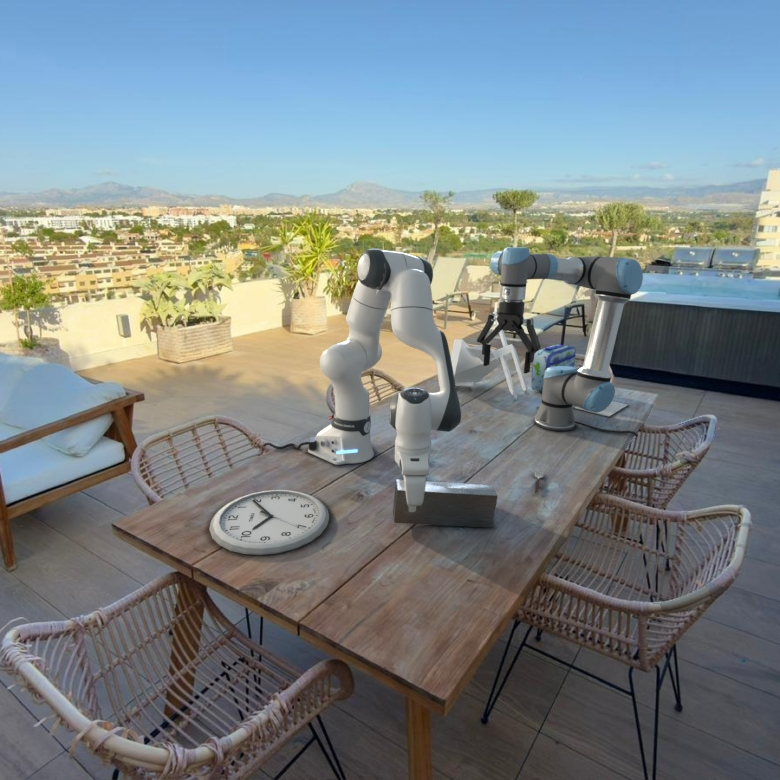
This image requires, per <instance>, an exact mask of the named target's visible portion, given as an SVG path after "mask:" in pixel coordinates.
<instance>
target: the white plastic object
mask: <svg viewBox="0 0 780 780" xmlns="http://www.w3.org/2000/svg"><path fill="white" fill-rule="evenodd" d="M492 314H495V315H497V316H498V314H499V313H498V312H497V311H496V310H495V311H492ZM495 324H496V325H495V326H496V327H497V326H498V325H499V323H498V321H497V319H496V321H495ZM498 335H499V338H500V342H501V345H502V347H500V348H498V349H496V350H495V349H493V348H492V347H491V349H490V362H489V365H487V366H483V364H484V355H482V344H479V345H473V346H469V345H468V343H466V342H465V340H464V339H463V338H460V339H458V338H454V340H453V344H452V349H451V353H450V356H451V362H452V368H453V373H454V379H455V385H458V384H467V383H468V384H469V383H473V384H477V383H480V382H482V381H484V378H485V377H486V376H487V375H489V374H490V373H492V372H494V371H495V370H496V369H497V368H499V367H500V366H502V370H503V373H504V376H505V380H506V383H507V386H508V390H509V393H510V394H511V395H512V397H513V398H514V399H515V400H517V392H516V391H517V390H516V388H515V385H514V381H513V378H512V375H511V371H510V369H509V365H508V361H510V360H513V363H514V366H515V369H516V372H517V376H518V380H519V382H520V385H521V389H522V391H523V393H524V395H525V396H526V397H528V396H531V395H530V390H529V388H528V387H529V386H528V384H527V381H526V378H525V375H524V370H523V369H522V368H523V367H522V366H521V362H520V359H519V355H518V352H517V349H516V347H515V346H514V345H513V343H511V344H508V341H507V337H506V334H505V331H503V330H501V331H500V332H499V333H498Z"/></svg>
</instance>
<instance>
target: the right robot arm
mask: <svg viewBox="0 0 780 780" xmlns="http://www.w3.org/2000/svg"><path fill="white" fill-rule="evenodd" d="M489 267H490V270H491V271H492V273H493V274H495V275H499V276H500V287H499V299H500V300H499V302H498V309H497V314H498V316H497V315H495V314H493V313H490V314H488V316H487V320H486V323H485V324H484V326H483V328H482V330H481V332H480V334H479V335H478V337H477V339H476V342H477V343H480V345H482V355H484V364H483V366H487V365H489V362H490V349H491V348H492V344H490V343H491V341H492V340H493V339H495V337H497V335H499V332H500V331H501V330H503V331H504V332H510V333H515V334H516V335H517V336H518V337H519V339H520V340H521V342H522V344H523V345H524V347H525V348H526V350H527V351H525V354H524V355H525V356H524V367H523V374H528V373H530V372H531V364H533V361H534V356H535V354H536V352H537V351H539V350H541V349H542V346H541V343H540V339H539V337H538V334H537V331H536V329H535V326H534V318H533V317H531V318H524V314H525V300H526V292H527V282H528V281H529V280H553V281H563V282H564V283H565V284H567V285H575V286H578V287H582V288H585V289H589V290H595V292H594V296H595V298H596V300H597V303H596V308H595V311H594V316H593V322H592V324H591V325H592V326H591V330H590V334H589V338H588V343H587V346H586V351H585V354H584V355H585V356H584V360H583V364H582V366H581V367H580V368H578V369H577V367H575V366H574V367H570V366H555V367H549V368H547V369H546V370H545V375H544V378H543V379H544V380H543V391H541V402H540V405H538V406H536V413H535V416H534V424H535V425H536V426H537V427H539V428H542V429H544V430H549V431H556V432H567V431H572V430H574V429H575V428H576V425H579V426H582V427H586V428H588V429H592V430H596V431H599V432H605V433H612V434H613V433H614V434H632V435H634V436H635V437H639V435H638V434H637V432H635V431H632V430H613V429H612V430H611V429H605V428H600V427H597V426H592V425H590V424H586V423H583V422H581V421H577V420H576V418H575V417H576V416H575V413H574V407H576V406H577V407H580V408H582V409H584V410H586V411H585V412H588V411H592V412H601V411H603V410H605V409H606V408H607V407H608V406H609V405H610V403H611V402H612V401H614V397H615V394H616V389H615V385H614V384H613V383H612V382H611V379H612V376H611V374H610V373H609V368H610V364H611V360H612V356H613V351H614V348H615V345H616V340H617V337H618V336H617V335H618V333H619V332H618V331H619V327H620V324H621V319H622V314H623V312H624V311H623V310H624V306H625V304H626V303H628V302H630V301H631V297H632V295H635V294H637V293H638V292H639V290H640V289H641V287H642V285H643V280H644V273H643V268H642V266H641V264H640V262H639V261H637V260H636V259H633V258H628V257H617V256H601V255H596V256H593V255H592V256H569V257H568V258H563V257H556V256H555V255H554V254H552V253H546V252H544V253H532V252H530V248H529V247H523V246H522V247H521V246H519V247H518V246H508V247H505V248H504V249H503V250H502V251H496V252H495V253H494V254H493V255H492V256H491V257H490V264H489ZM496 319H497V321H498V323H499V325H498V326H497V325H496V327H495V328H494V329H493V330H492V331H491V332H490V330H491V328H492V327H493V325H494V323H496ZM523 324H524V326H525V327H526V330H527V333H528V335H527V333H526V332H525V329H524V327H523V326H522V325H523ZM489 332H490V333H489ZM573 406H574V407H573ZM584 410H583V411H584ZM592 412H591V413H592Z"/></svg>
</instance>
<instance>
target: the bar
mask: <svg viewBox="0 0 780 780" xmlns="http://www.w3.org/2000/svg"><path fill="white" fill-rule="evenodd" d="M498 497H499V496H498V493H497V492H496V489H495V488H494V486H493V485H492V484H479V483H462V482H460V483H459V482H447V481H446V482H442V481H429V480H426V485H425V493H424V500H423V503H422V505H421V506H416V511H415V512H409V509H408V505H407V499H406V492H405V486H404V479H395V487H394V496H393V505H392V517H393V523H395V524H409V525H410V524H411V525H413V524H414V525H432V526H450V527H472V528H487V529H488V528H491V529H492V528H493V526H494V519H495V513H496V508H497V502H498Z"/></svg>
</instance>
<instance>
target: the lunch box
mask: <svg viewBox="0 0 780 780" xmlns="http://www.w3.org/2000/svg"><path fill="white" fill-rule="evenodd" d="M576 357H577V355H576V347H575V346H569V345H565V344H554V345H550V346H547V347H544V348H541V350H539V351H535V353H534V361H533V362H532V367H531V368H532V369H531V382H530V383H531V386H530V387H531V389H532V390H533V391H537V392H542V391H543V380H544V379H543V378H544V375H545V370H546V369H547V368H549V367H555V366H570V367H575V364H576Z"/></svg>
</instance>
